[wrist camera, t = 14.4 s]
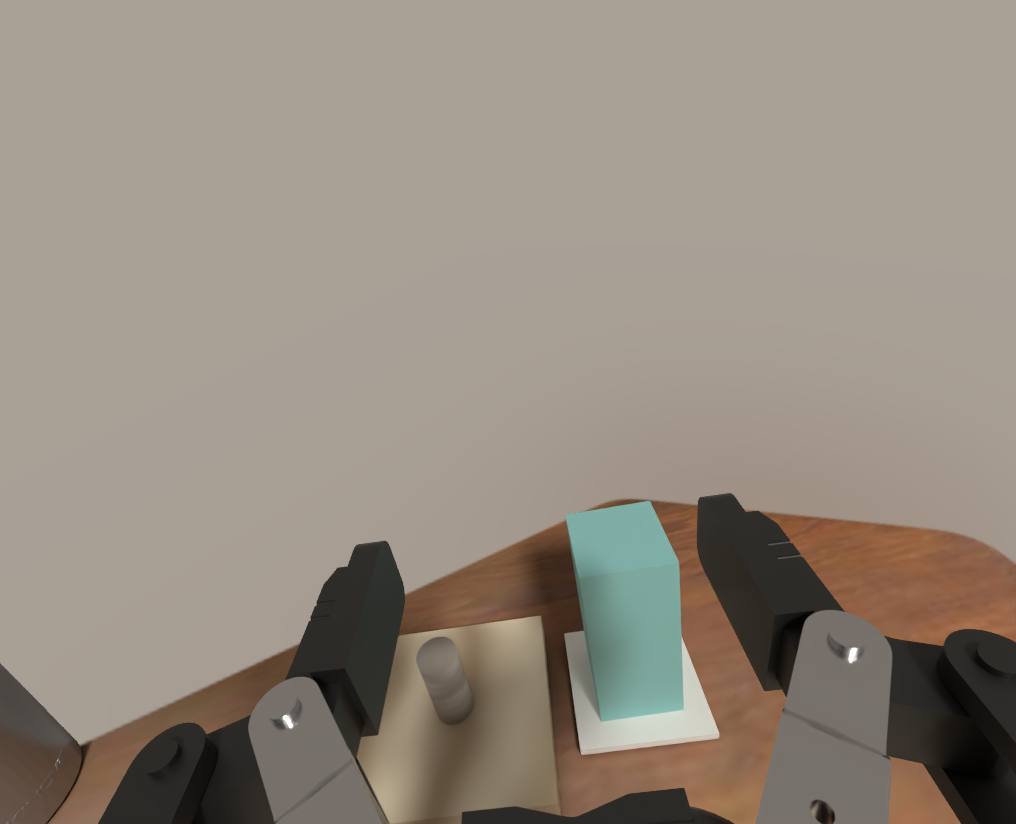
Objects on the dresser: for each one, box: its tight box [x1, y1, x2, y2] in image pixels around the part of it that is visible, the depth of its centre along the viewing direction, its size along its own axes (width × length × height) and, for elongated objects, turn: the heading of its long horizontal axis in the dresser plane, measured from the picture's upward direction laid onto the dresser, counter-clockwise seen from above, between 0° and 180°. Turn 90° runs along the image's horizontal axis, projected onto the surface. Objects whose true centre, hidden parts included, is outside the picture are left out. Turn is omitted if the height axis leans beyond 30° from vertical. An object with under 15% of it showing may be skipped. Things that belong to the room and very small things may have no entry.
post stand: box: [357, 616, 562, 824], centre depth 31 cm, size 12×12×6 cm
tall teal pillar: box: [565, 501, 684, 722], centre depth 29 cm, size 5×5×12 cm
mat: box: [564, 631, 719, 755], centre depth 32 cm, size 8×8×1 cm
